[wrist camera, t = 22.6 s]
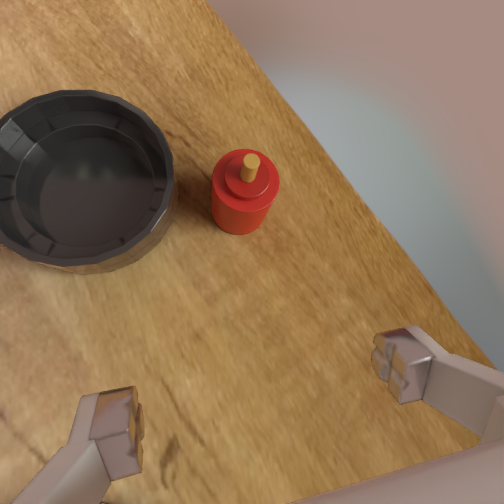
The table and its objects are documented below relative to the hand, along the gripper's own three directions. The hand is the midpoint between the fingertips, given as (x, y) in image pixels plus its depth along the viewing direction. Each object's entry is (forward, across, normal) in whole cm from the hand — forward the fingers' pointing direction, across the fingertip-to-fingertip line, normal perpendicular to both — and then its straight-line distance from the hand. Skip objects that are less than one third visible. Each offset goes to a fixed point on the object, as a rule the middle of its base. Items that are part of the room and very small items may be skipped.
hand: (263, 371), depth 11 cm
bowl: (+26, +10, 0) cm, 27 cm away
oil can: (+23, -4, +2) cm, 24 cm away
